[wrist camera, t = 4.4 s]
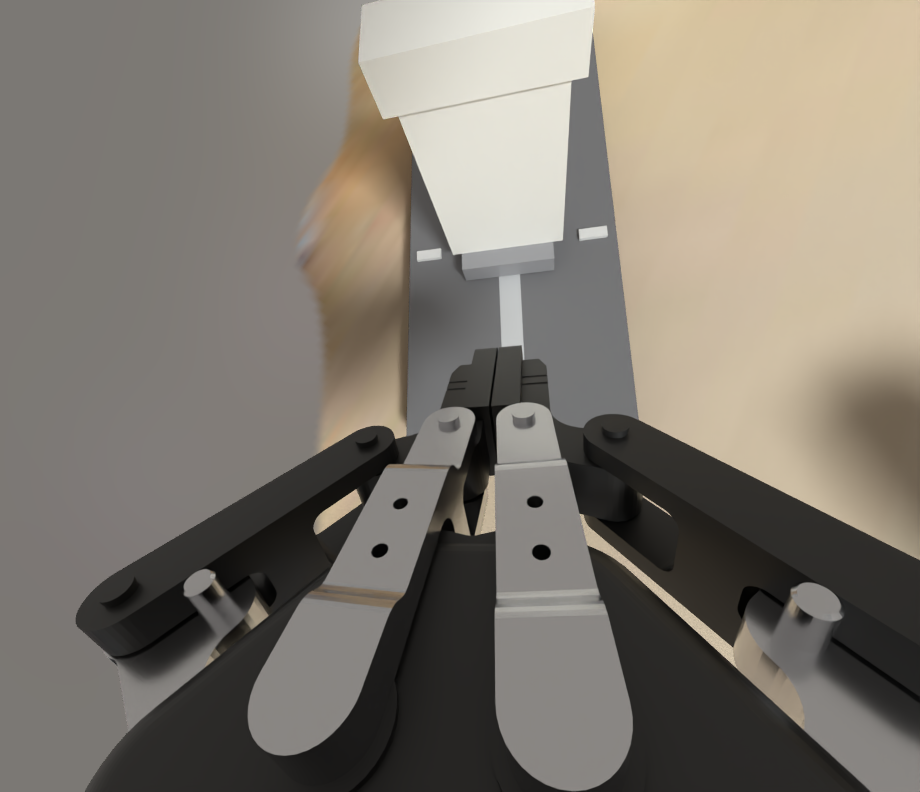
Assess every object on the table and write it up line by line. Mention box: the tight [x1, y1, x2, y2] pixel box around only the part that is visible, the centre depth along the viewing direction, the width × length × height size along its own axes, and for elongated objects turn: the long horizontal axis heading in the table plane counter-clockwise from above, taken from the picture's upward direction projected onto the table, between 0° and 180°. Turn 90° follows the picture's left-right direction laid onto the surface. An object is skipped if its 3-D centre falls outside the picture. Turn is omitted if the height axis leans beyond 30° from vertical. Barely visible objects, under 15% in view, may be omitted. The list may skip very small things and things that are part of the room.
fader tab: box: [358, 0, 595, 281], centre depth 18 cm, size 7×4×12 cm, turn 90°
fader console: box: [407, 33, 639, 436], centre depth 26 cm, size 12×30×2 cm, turn 0°
